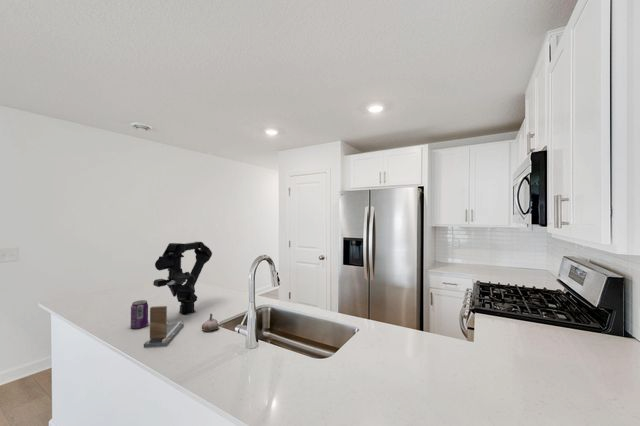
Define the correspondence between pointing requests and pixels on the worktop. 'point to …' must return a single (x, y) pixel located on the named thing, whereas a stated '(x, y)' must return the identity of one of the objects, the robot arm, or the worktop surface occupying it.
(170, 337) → the fader track
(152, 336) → the fader handle
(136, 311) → the beverage can
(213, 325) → the garlic bulb
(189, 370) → the worktop surface
